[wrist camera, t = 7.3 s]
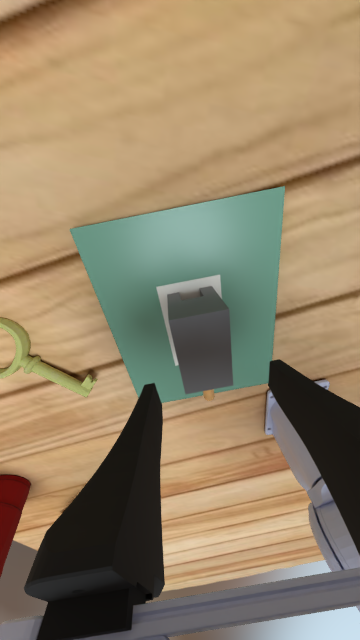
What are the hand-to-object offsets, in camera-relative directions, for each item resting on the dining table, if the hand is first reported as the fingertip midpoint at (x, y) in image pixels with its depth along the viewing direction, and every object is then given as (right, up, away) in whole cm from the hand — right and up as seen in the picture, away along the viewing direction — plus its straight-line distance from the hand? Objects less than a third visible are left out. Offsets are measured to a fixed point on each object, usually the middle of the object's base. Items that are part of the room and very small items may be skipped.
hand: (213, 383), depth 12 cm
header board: (-1, +4, +7) cm, 8 cm away
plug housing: (0, +3, +7) cm, 7 cm away
